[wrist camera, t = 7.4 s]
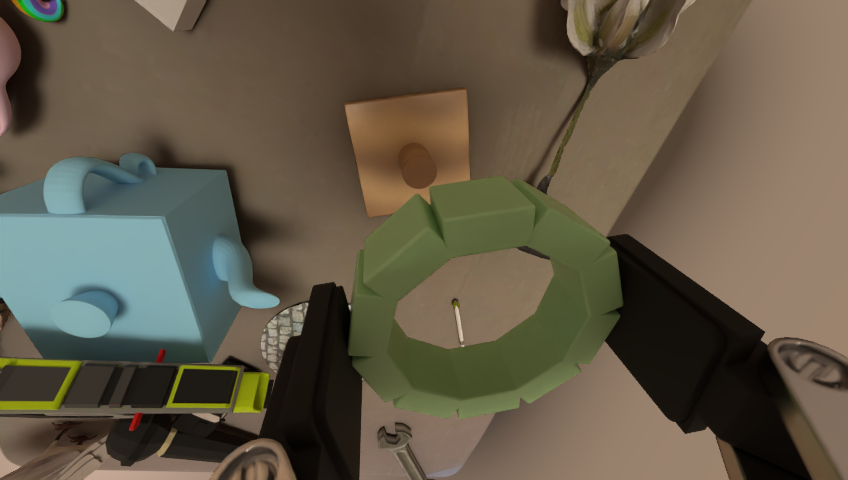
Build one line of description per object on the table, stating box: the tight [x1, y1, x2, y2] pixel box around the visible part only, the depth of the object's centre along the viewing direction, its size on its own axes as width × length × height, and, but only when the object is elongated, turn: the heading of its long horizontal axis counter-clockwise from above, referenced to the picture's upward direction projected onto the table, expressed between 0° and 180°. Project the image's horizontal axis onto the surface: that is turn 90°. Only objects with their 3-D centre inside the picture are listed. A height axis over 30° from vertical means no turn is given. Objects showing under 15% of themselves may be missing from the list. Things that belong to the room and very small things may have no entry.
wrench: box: [378, 424, 433, 480], centre depth 48 cm, size 5×2×20 cm
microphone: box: [105, 413, 251, 466], centre depth 38 cm, size 6×6×20 cm
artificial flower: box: [516, 0, 695, 260], centre depth 23 cm, size 9×22×10 cm, turn 161°
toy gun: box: [0, 349, 274, 431], centre depth 23 cm, size 20×4×15 cm
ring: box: [347, 176, 623, 419], centre depth 9 cm, size 7×7×2 cm
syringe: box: [452, 300, 464, 347], centre depth 37 cm, size 10×1×1 cm
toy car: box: [171, 359, 256, 438], centre depth 34 cm, size 10×4×3 cm, turn 133°
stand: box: [344, 88, 470, 217], centre depth 24 cm, size 9×9×5 cm
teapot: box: [0, 153, 280, 363], centre depth 22 cm, size 16×18×11 cm
